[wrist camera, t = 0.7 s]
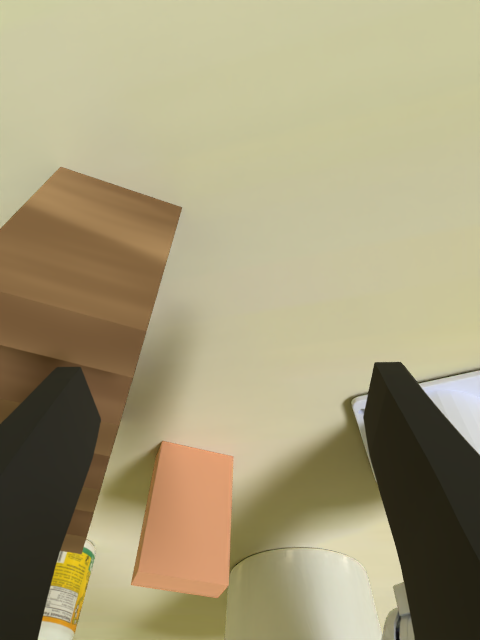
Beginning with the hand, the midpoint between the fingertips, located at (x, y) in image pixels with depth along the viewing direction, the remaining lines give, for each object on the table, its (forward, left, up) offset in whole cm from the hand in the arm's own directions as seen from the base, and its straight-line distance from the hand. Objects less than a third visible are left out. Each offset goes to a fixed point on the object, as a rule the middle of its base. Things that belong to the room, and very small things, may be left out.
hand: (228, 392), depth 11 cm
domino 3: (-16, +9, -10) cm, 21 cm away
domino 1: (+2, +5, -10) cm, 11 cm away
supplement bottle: (-25, +26, -10) cm, 37 cm away
